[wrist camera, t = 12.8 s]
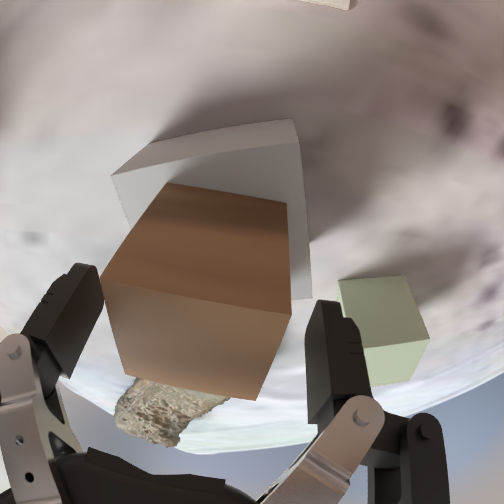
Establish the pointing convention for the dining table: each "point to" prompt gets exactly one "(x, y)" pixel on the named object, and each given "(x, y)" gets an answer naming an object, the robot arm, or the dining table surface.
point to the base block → (228, 177)
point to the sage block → (385, 326)
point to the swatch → (332, 3)
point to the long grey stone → (161, 410)
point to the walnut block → (202, 291)
